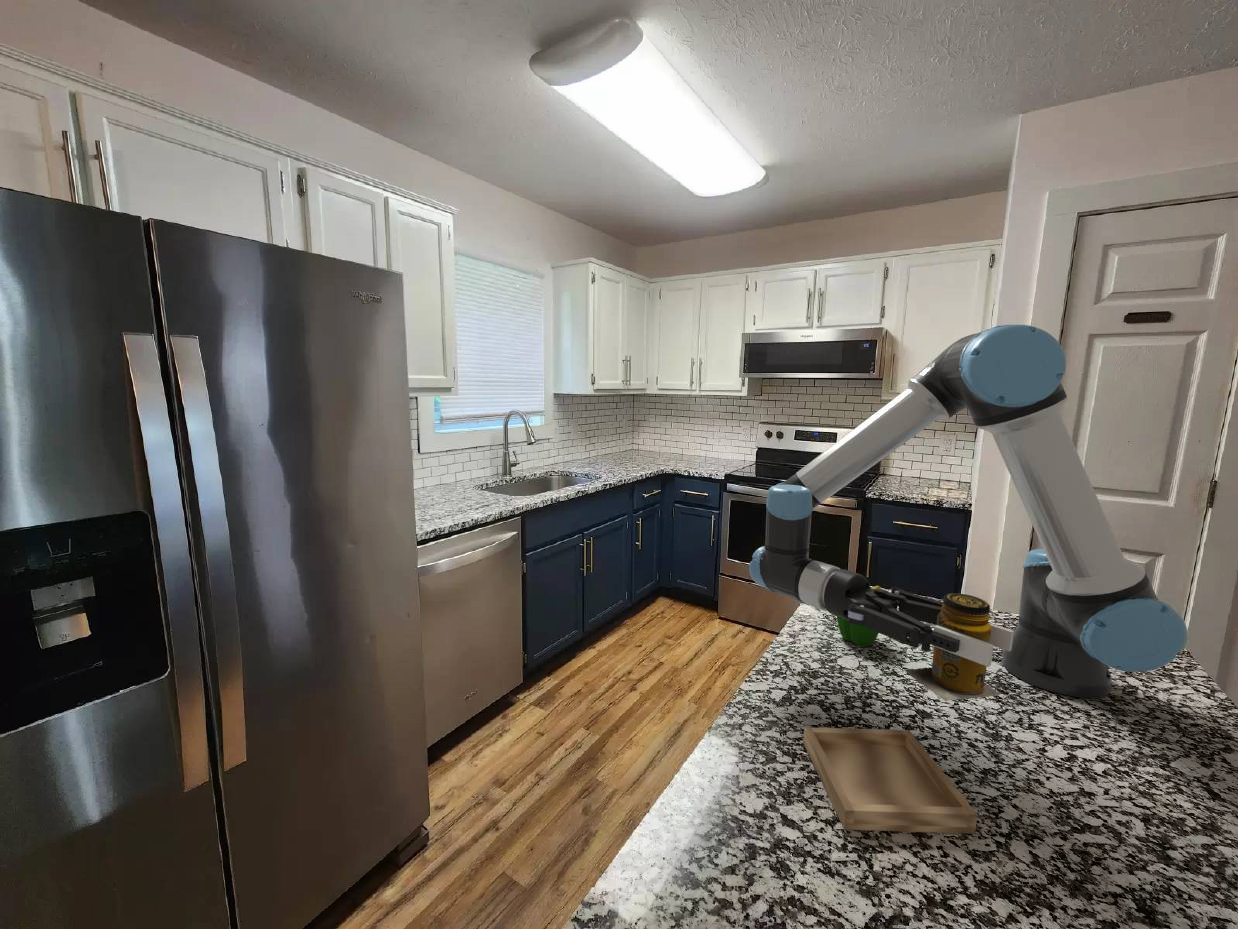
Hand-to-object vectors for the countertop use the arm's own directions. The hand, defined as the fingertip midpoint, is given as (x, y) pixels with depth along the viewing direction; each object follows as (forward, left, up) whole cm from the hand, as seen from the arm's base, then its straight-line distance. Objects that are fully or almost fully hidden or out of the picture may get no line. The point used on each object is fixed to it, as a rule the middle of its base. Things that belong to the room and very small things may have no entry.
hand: (1001, 648), depth 65 cm
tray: (+14, +1, -19) cm, 24 cm away
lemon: (-8, -49, -19) cm, 53 cm away
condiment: (+4, -4, -7) cm, 9 cm away
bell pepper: (0, -39, -19) cm, 43 cm away
